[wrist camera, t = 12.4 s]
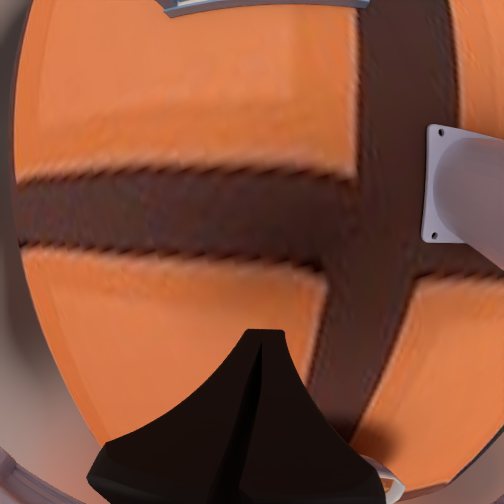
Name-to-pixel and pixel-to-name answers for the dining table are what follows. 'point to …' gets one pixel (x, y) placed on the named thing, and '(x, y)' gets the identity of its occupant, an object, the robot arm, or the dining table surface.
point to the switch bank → (242, 4)
